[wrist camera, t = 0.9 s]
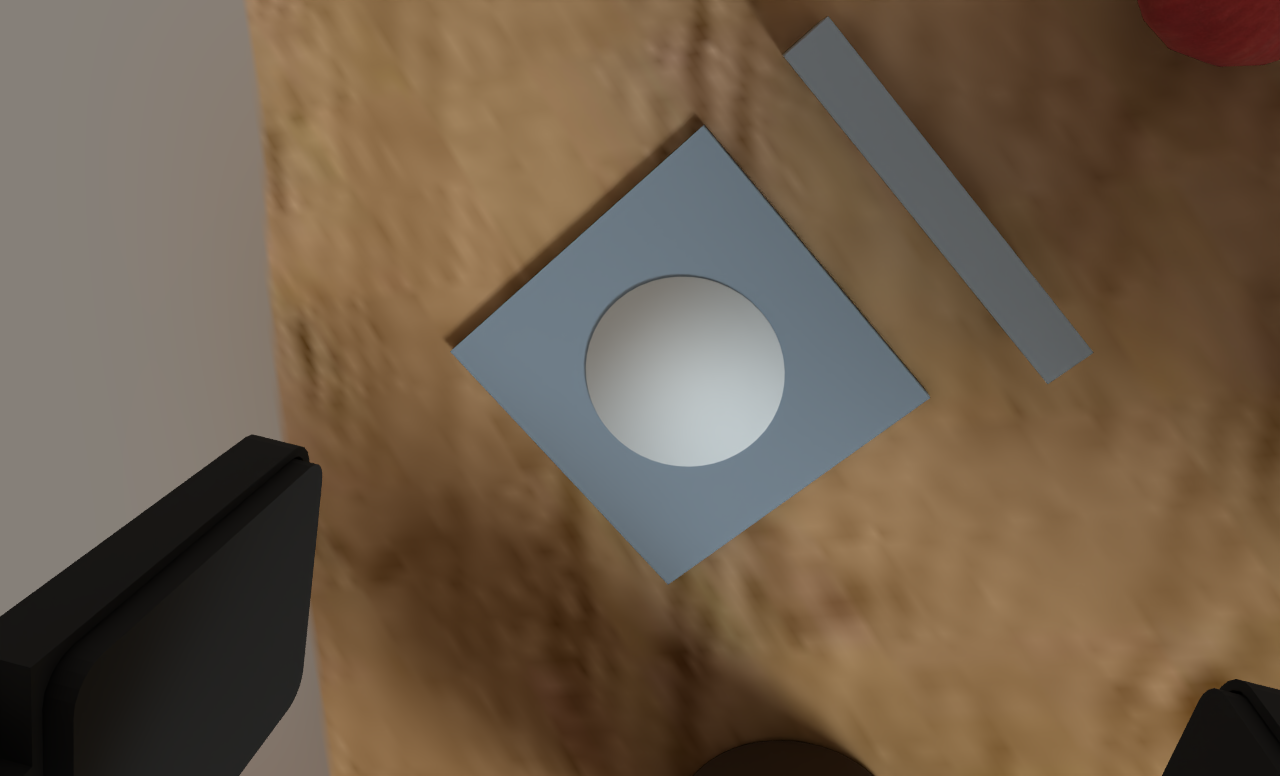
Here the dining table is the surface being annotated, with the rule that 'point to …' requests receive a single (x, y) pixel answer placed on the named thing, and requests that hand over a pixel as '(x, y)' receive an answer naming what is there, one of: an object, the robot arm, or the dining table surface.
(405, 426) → the dining table surface
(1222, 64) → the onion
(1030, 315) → the low wall
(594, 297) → the mat
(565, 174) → the dining table surface
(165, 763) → the robot arm
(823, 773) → the olive oil
